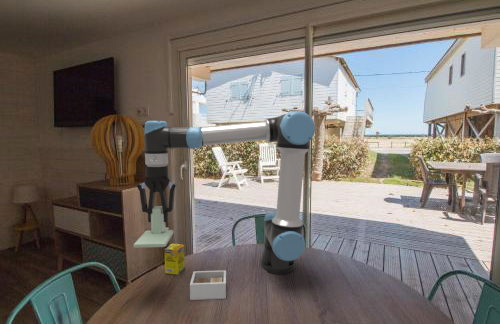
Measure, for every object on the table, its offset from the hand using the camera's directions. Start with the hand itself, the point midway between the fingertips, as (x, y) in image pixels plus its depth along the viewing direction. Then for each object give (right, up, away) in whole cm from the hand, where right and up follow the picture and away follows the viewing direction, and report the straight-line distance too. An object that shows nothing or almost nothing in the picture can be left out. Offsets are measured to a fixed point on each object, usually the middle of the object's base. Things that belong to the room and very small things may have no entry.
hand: (158, 230), depth 97 cm
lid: (0, -2, -3) cm, 4 cm away
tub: (+18, -22, -1) cm, 29 cm away
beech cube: (+21, -22, 0) cm, 30 cm away
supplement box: (+2, -21, +14) cm, 25 cm away
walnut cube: (+16, -22, -1) cm, 27 cm away
